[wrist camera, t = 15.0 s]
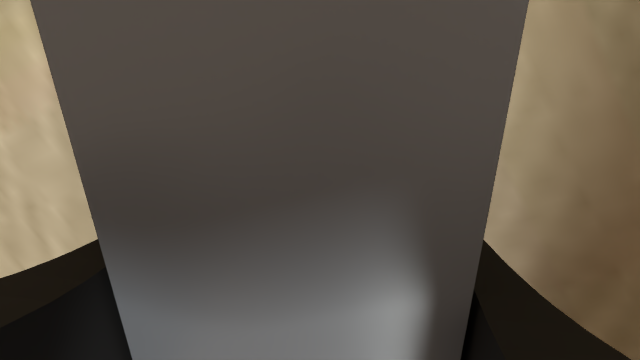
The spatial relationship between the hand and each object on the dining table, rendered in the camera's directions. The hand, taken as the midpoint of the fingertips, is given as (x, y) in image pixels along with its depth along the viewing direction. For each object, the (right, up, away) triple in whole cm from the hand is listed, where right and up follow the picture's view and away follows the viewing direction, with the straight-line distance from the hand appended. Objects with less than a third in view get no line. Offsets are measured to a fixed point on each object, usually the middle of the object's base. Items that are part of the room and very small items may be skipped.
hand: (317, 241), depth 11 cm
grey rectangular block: (0, +1, +2) cm, 2 cm away
